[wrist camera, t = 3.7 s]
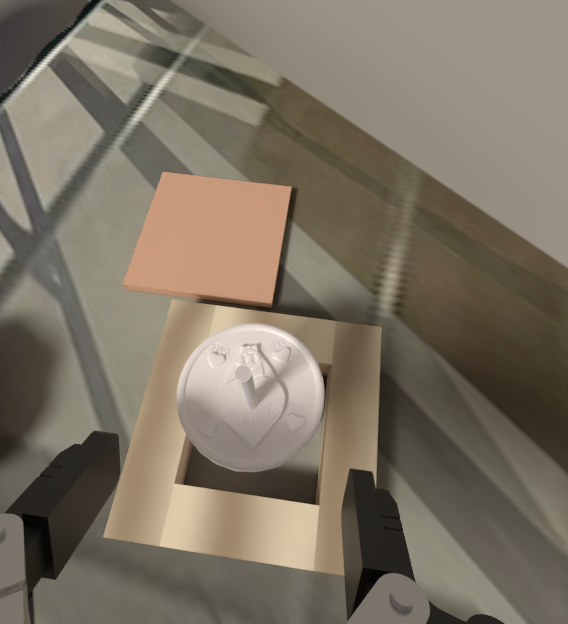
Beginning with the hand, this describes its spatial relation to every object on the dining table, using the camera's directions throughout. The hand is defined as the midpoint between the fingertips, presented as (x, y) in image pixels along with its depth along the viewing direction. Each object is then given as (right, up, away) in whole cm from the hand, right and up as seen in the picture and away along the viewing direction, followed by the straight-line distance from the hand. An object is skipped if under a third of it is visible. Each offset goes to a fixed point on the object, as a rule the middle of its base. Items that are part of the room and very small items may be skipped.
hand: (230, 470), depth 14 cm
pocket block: (0, -2, +12) cm, 12 cm away
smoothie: (0, -2, +12) cm, 12 cm away
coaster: (-4, +11, +18) cm, 22 cm away
